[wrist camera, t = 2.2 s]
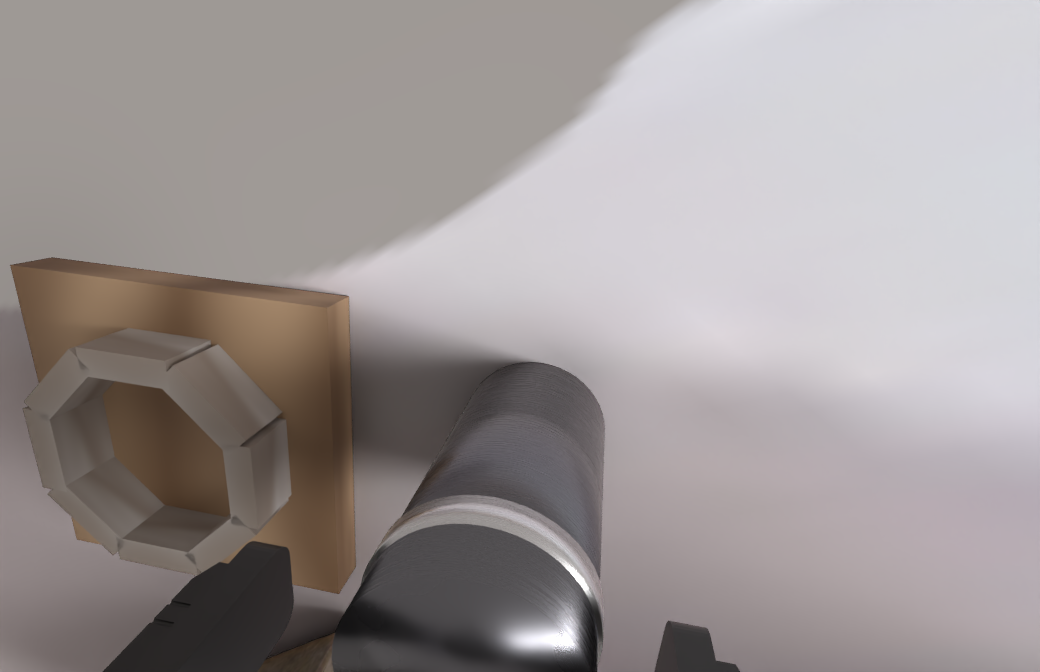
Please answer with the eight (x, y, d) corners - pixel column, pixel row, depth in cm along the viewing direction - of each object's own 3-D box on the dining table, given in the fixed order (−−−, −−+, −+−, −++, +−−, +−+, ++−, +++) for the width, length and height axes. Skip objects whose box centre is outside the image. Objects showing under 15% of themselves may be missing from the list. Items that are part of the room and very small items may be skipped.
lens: (617, 371, 18) (622, 606, 9) (597, 499, 20) (582, 812, 10) (468, 350, 19) (320, 547, 9) (461, 476, 20) (331, 750, 11)
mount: (348, 296, 19) (292, 326, 15) (355, 566, 23) (312, 636, 19) (51, 257, 20) (-57, 277, 17) (107, 517, 24) (29, 573, 21)
